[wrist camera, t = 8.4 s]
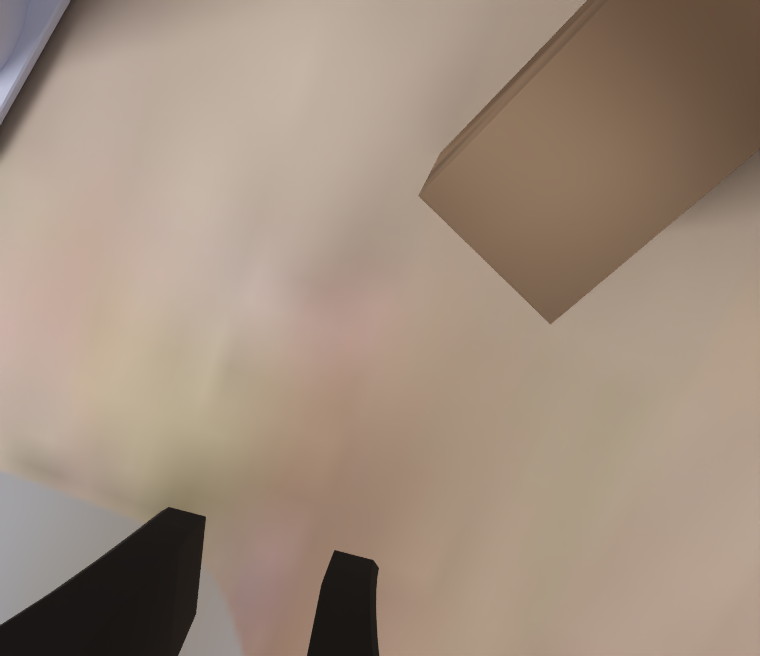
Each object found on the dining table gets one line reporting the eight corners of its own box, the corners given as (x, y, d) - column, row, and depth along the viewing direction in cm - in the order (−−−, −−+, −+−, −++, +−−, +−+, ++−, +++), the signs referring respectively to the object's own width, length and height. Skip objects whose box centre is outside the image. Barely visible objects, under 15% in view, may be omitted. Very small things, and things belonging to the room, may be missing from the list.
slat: (539, 249, 18) (550, 324, 14) (440, 152, 18) (418, 196, 13) (916, -89, 14) (1107, -143, 10) (804, -227, 14) (953, -352, 9)
